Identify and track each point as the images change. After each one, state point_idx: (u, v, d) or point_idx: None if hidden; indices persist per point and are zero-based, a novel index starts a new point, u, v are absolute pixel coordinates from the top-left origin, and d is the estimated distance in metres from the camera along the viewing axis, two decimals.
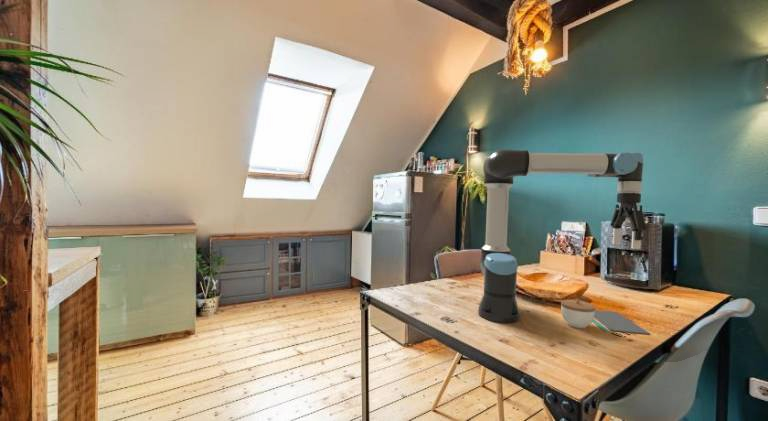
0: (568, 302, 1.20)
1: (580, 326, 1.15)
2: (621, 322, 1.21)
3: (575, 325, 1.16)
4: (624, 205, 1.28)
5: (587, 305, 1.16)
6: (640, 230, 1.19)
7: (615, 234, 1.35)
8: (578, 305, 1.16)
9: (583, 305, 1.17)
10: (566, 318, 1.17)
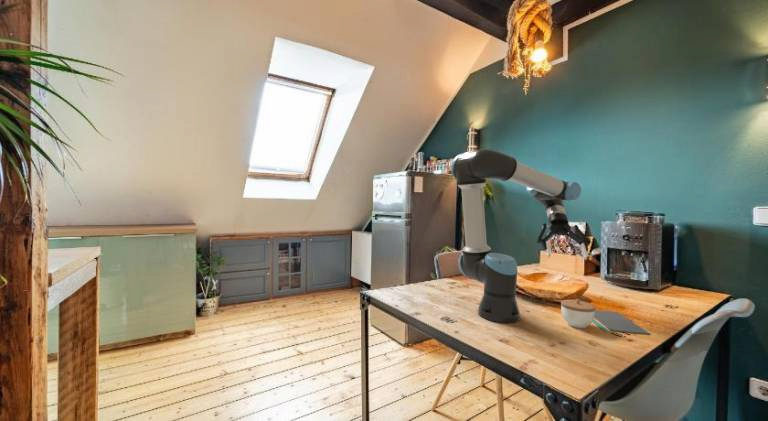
0: (568, 302, 1.20)
1: (580, 326, 1.15)
2: (621, 322, 1.21)
3: (575, 325, 1.16)
4: (559, 224, 1.41)
5: (587, 305, 1.16)
6: (588, 243, 1.33)
7: None
8: (578, 305, 1.16)
9: (583, 305, 1.17)
10: (566, 318, 1.17)
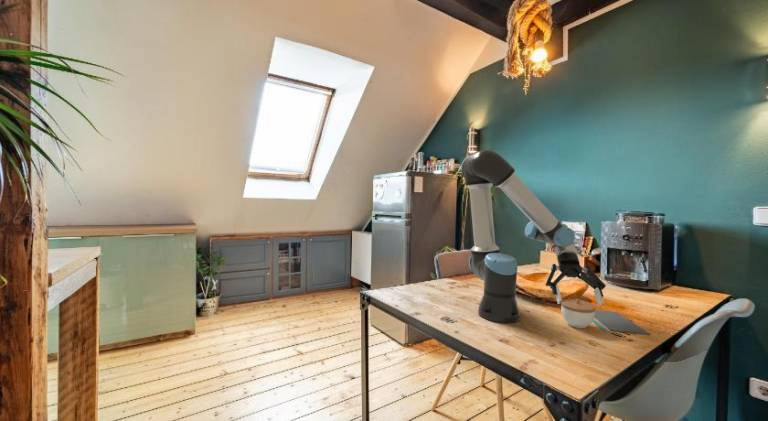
0: (568, 301, 1.19)
1: (580, 326, 1.15)
2: (621, 322, 1.21)
3: (575, 325, 1.16)
4: (569, 265, 1.30)
5: (587, 305, 1.16)
6: (603, 288, 1.23)
7: None
8: (578, 305, 1.16)
9: (583, 305, 1.16)
10: (566, 318, 1.17)
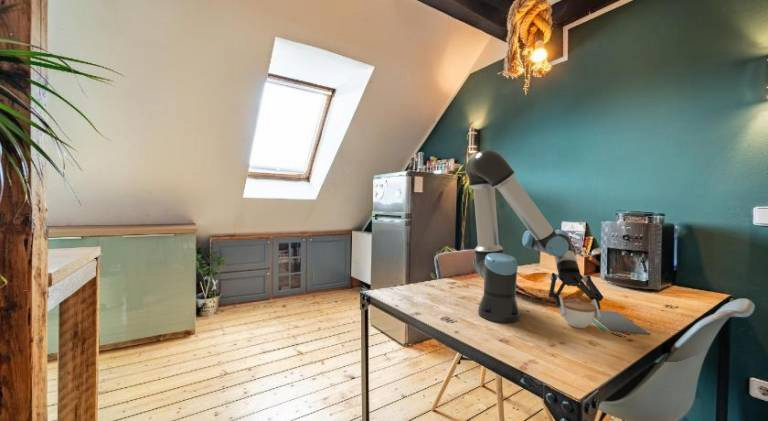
0: (568, 301, 1.20)
1: (580, 326, 1.15)
2: (621, 322, 1.21)
3: (575, 325, 1.16)
4: (569, 273, 1.26)
5: (587, 305, 1.16)
6: (600, 299, 1.19)
7: None
8: (578, 305, 1.16)
9: (583, 305, 1.16)
10: (566, 318, 1.17)
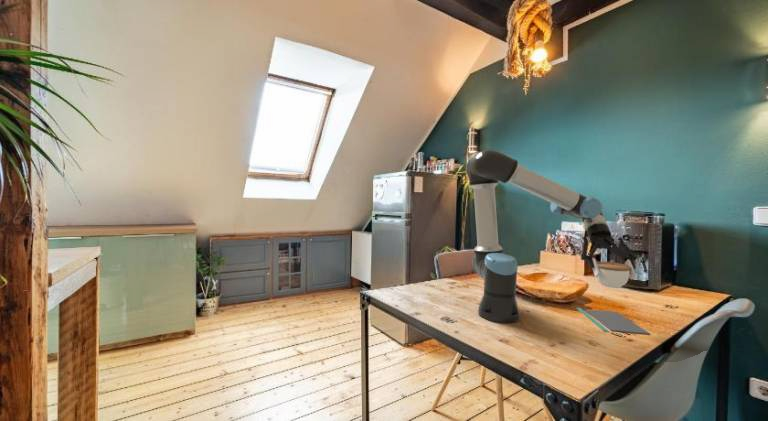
0: (602, 263, 1.20)
1: (615, 286, 1.15)
2: (621, 322, 1.21)
3: (610, 285, 1.15)
4: (600, 236, 1.26)
5: (622, 265, 1.16)
6: (634, 260, 1.18)
7: None
8: (613, 265, 1.16)
9: (618, 265, 1.16)
10: (600, 278, 1.17)
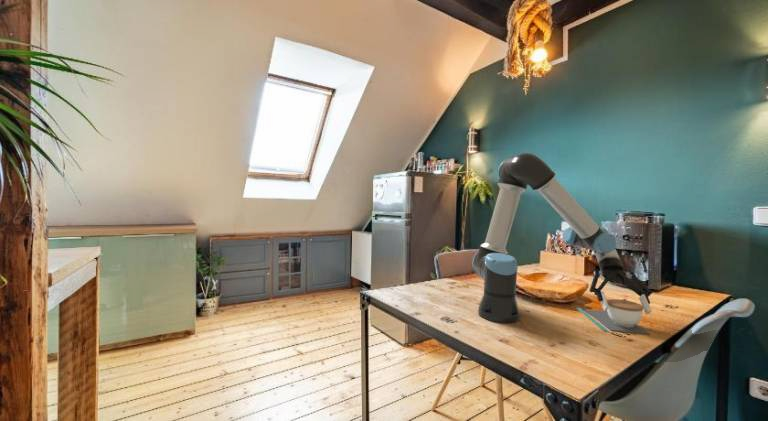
0: (614, 301, 1.21)
1: (628, 326, 1.16)
2: None
3: (623, 324, 1.16)
4: (612, 270, 1.27)
5: (634, 304, 1.17)
6: (649, 294, 1.20)
7: None
8: (625, 304, 1.17)
9: (630, 304, 1.17)
10: (613, 317, 1.18)
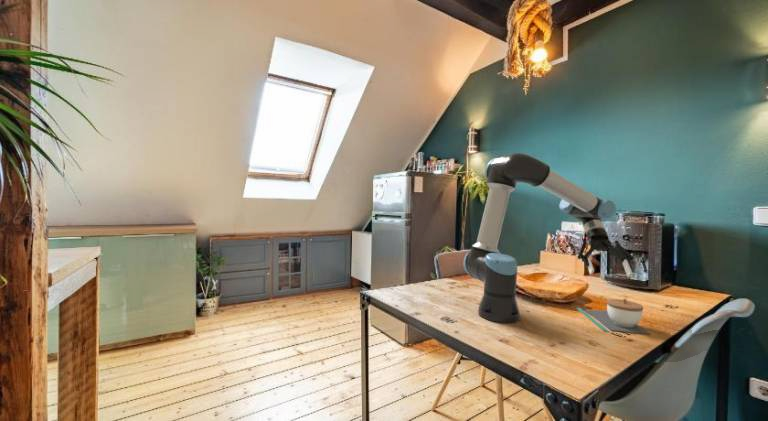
0: (614, 301, 1.21)
1: (628, 326, 1.16)
2: None
3: (623, 324, 1.16)
4: (599, 240, 1.39)
5: (634, 304, 1.17)
6: (631, 260, 1.32)
7: None
8: (625, 304, 1.17)
9: (630, 304, 1.17)
10: (613, 317, 1.18)
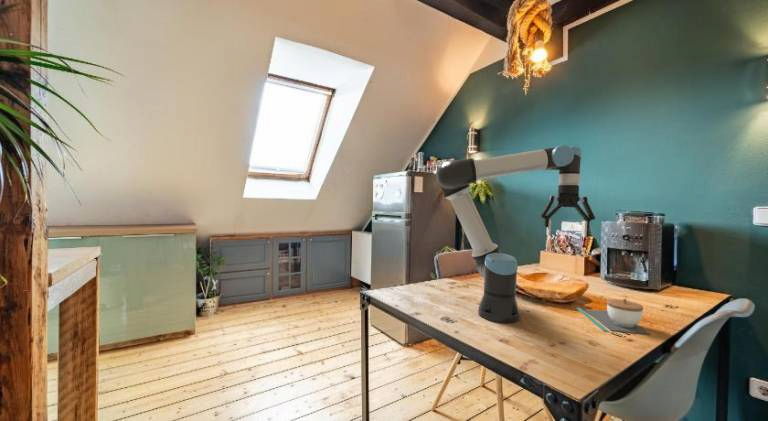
0: (614, 301, 1.21)
1: (628, 326, 1.16)
2: None
3: (623, 324, 1.16)
4: (567, 196, 1.33)
5: (634, 305, 1.17)
6: None
7: None
8: (625, 304, 1.17)
9: (630, 304, 1.17)
10: (613, 317, 1.18)
